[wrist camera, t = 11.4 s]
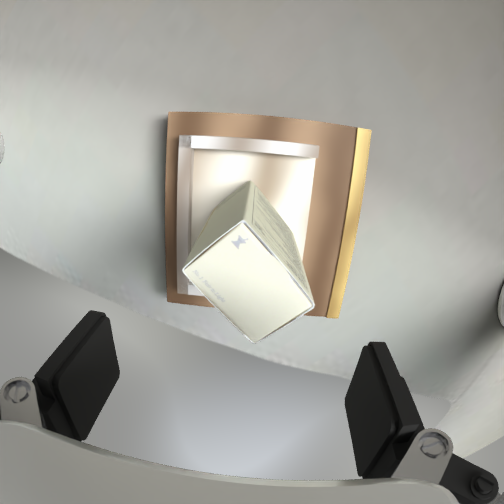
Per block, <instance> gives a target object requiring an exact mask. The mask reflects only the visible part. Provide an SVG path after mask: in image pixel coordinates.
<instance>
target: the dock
mask: <svg viewBox="0 0 504 504" xmlns="http://www.w3.org/2000/svg"><path fill="white" fill-rule="evenodd" d="M370 138H371V130H368V129H362V128H356V127H350V126H344V125H338V124H331V123H325V122H318V121H310V120H302V119H293V118H284V117H274V116H263V115H250V114H234V113H213V112H168V128H167V149H166V180H165V253H166V284H167V302H172V303H180V304H188V305H197V306H206V307H214V306H213V305H212V304H211V303H210V302H209V300H208V299H207V298H206V297H205V296H204V295H203V294H202V293H201V292H200V291H199V290H198V289H197V288H196V287H195V286H194V285H193V283H192V282H191V281H190V280H189V279H188V278H187V276H186V275H185V274H184V273H183V272H182V268H183V266H184V264H185V262H186V260H187V258H188V256H189V254H190V252H191V250H192V248H193V246H194V244H195V242H196V240H197V239H198V237H199V235H200V233H201V231H202V229H203V227H204V226H205V224H206V222H207V220H208V218H209V217H210V215H211V213H212V211H213V210H214V209H215V208H216V207H217V206H218V205H219V204H220V203H222V202H223V201H224V200H225V199H226V198H228V197H229V196H230V195H231V194H233V193H234V192H235V191H236V190H238V189H239V188H240V187H242V186H243V185H244V184H246V183H247V182H248V181H252V182H253V183H254V184H255V185H256V186H257V188H258V189H259V190H260V191H261V192H262V193H263V195H264V196H265V197H266V198H267V199H268V201H269V202H270V203H271V205H272V206H273V207H274V208H275V210H276V211H277V212H278V213H279V215H280V216H281V217H282V219H283V220H284V221H285V223H286V224H287V225H288V227H289V228H290V229H291V231H292V232H293V234H294V237H295V241H296V244H297V247H298V250H299V253H300V257H301V260H302V263H303V266H304V270H305V273H306V277H307V280H308V283H309V286H310V290H311V293H312V296H313V300H314V303H315V306H314V308H313V309H312V310H310V311H309V312H307V313H306V314H304V315H307V316H323V317H326V318H338V317H339V313H340V309H341V305H342V300H343V296H344V292H345V287H346V283H347V278H348V273H349V269H350V264H351V259H352V254H353V249H354V244H355V238H356V233H357V227H358V222H359V216H360V210H361V204H362V198H363V191H364V185H365V178H366V171H367V163H368V155H369V147H370Z"/></svg>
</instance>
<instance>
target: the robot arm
mask: <svg viewBox="0 0 504 504" xmlns="http://www.w3.org/2000/svg"><path fill="white" fill-rule="evenodd" d="M498 317H499V320H500V322H501V324H502V325H503V326H504V285H503V288H502V290H501V294H500V297H499V302H498ZM119 374H120V370H119V365H118V360H117V356H116V351H115V346H114V341H113V336H112V330H111V324H110V320H109V318H108V317H106V315H105V313H103V312H97V311H92V310H91V311H89V312H88V313H87V314H86V315H85V316H84V317H83V319H82V320H81V321H80V322H79V323H78V324H77V325H76V327H75V328H74V329H73V330H72V331H71V332H70V333H69V335H68V336H67V337H66V338H65V340H63V342H62V343H61V344H60V345H59V346H58V348H57V349H56V350H55V351H54V352H53V354H52V355H51V356H50V357H49V358H48V360H47V361H46V362H45V363H44V365H43V366H42V367H41V368H40V369H39V371H38V372H37V373H36V374H35V378H34V379H33V381H31V380H29V379H27V378H24V377H16V378H13V379H10V380H8V381H7V382H6V383H5V384H4V385H3V386H2V388H1V390H0V504H504V492H503V493H502V494H499V493H498V489H499V487H498V482H497V480H496V478H495V477H494V475H493V474H491V473H490V472H488V471H486V470H484V469H482V468H480V467H478V466H476V465H474V464H472V463H470V462H468V461H466V460H464V459H463V458H461V457H459V456H457V455H455V454H453V443H452V441H451V439H450V437H449V436H448V435H447V434H446V433H444V432H443V431H441V430H438V429H432V428H429V429H425V428H424V426H423V423H422V421H421V418H420V416H419V413H418V411H417V408H416V406H415V403H414V401H413V399H412V396H411V394H410V391H409V389H408V387H407V384H406V382H405V380H404V378H403V377H401V376H400V375H399V372H398V370H397V368H396V365H395V363H394V361H393V358H392V356H391V354H390V352H389V349H388V347H387V345H386V343H385V342H369V344H368V346H364V347H363V349H362V352H361V355H360V358H359V361H358V364H357V367H356V369H355V372H354V375H353V378H352V381H351V383H350V386H349V389H348V392H347V394H346V397H345V408H346V413H347V418H348V423H349V428H350V433H351V439H352V444H353V450H354V455H355V461H356V467H357V472H358V475H359V476H362V477H363V479H355V480H326V481H325V480H322V481H321V480H317V481H304V480H299V481H298V480H273V479H272V480H271V479H258V478H257V479H256V478H246V477H236V476H227V475H219V474H212V473H205V472H199V471H193V470H187V469H182V468H176V467H171V466H167V465H162V464H157V463H153V462H149V461H144V460H141V459H136V458H133V457H129V456H125V455H122V454H118V453H115V452H111V451H108V450H105V449H101V448H98V447H95V446H92V445H89V444H86V443H83V442H81V441H82V440H85V439H86V438H87V436H88V434H89V432H90V431H91V429H92V427H93V425H94V423H95V421H96V419H97V417H98V415H99V413H100V412H101V410H102V408H103V406H104V404H105V402H106V400H107V399H108V397H109V395H110V393H111V391H112V389H113V388H114V386H115V384H116V382H117V380H118V378H119Z"/></svg>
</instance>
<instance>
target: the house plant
mask: <svg viewBox="0 0 504 504" xmlns="http://www.w3.org/2000/svg"><path fill="white" fill-rule="evenodd" d="M3 156H4V141H3V136H2V135H1V133H0V163H1V162H2V159H3Z"/></svg>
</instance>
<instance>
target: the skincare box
mask: <svg viewBox="0 0 504 504" xmlns="http://www.w3.org/2000/svg"><path fill="white" fill-rule="evenodd" d="M182 272H183V273H184V274H185V275H186V276H187V278H188V279H189V280H190V281H191V282H192V283H193V285H194V286H195V287H196V288H197V289H198V290H199V291H200V292H201V293H202V294H203V295H204V296H205V297H206V298H207V299H208V300H209V302H210V303H211V304H212V305H213V306H214V307H215V308H216V309H217V310H218V311H219V312H220V313H221V314H222V315H223V316H224V317H225V318H226V319H227V320H228V321H229V322H230V323H231V324H232V325H233V326H235V327H236V328H237V329H238V330H239V331H240V332H241V333H242V334H243V335H244V336H245V337H246V338H247V339H248V340H250V341H251V342H252V343H253V344H256V343H258V342H260V341H261V340H263V339H265V338H266V337H268V336H270V335H272V334H273V333H275V332H277V331H278V330H280V329H282V328H284V327H285V326H287V325H288V324H290V323H292V322H293V321H295V320H296V319H298V318H299V317H301V316H302V315H304V314H306V313H307V312H309V311H310V310H312V309H313V308H314V306H315V303H314V300H313V296H312V293H311V290H310V286H309V283H308V280H307V277H306V273H305V270H304V266H303V263H302V260H301V257H300V253H299V250H298V247H297V244H296V241H295V237H294V234H293V232H292V231H291V229H290V228H289V227H288V225H287V224H286V223H285V221H284V220H283V219H282V217H281V216H280V215H279V213H278V212H277V211H276V210H275V208H274V207H273V206H272V205H271V203H270V202H269V201H268V199H267V198H266V197H265V196H264V195H263V193H262V192H261V191H260V190H259V189H258V188H257V186H256V185H255V184H254V183H253V182H252V181H248V182H247V183H246V184H244V185H243V186H242V187H240V188H239V189H238V190H236V191H235V192H234V193H233V194H231V195H230V196H229V197H228V198H226V199H225V200H224V201H223V202H222V203H220V204H219V205H218V206H217V207H216V208H215V209H214V210H213V211H212V213H211V215H210V217H209V218H208V220H207V222H206V224H205V226H204V227H203V229H202V231H201V233H200V235H199V237H198V239H197V240H196V242H195V244H194V246H193V248H192V250H191V252H190V254H189V256H188V258H187V260H186V262H185V264H184V266H183V268H182Z"/></svg>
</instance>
